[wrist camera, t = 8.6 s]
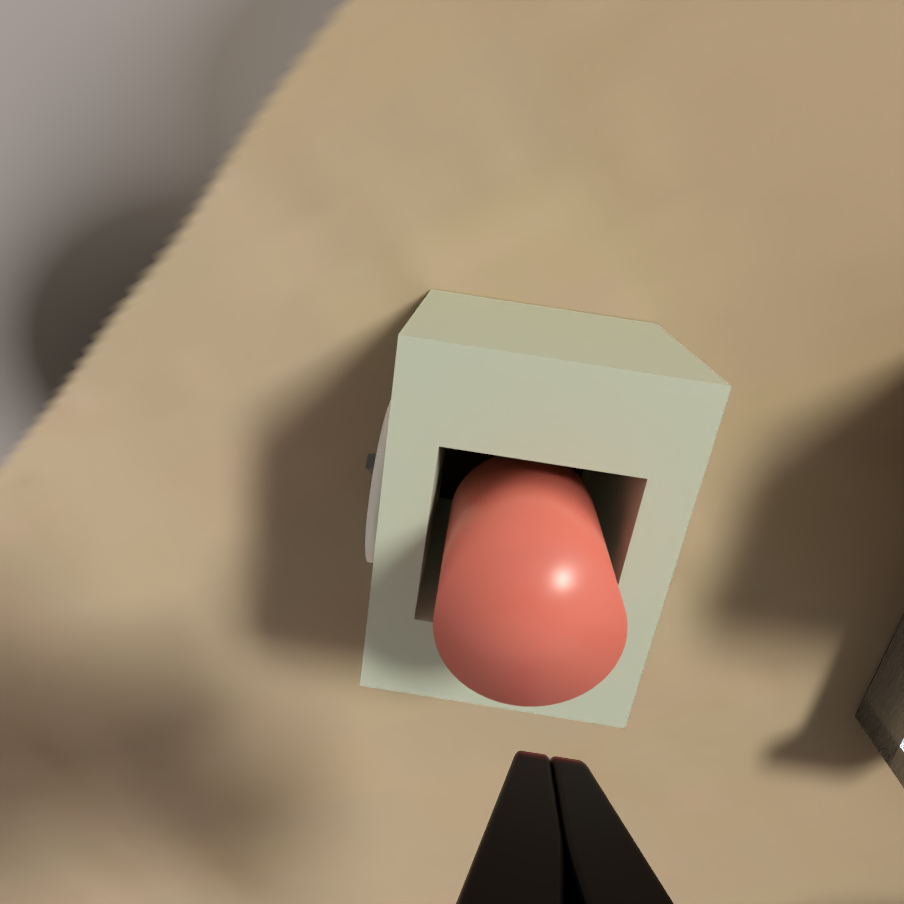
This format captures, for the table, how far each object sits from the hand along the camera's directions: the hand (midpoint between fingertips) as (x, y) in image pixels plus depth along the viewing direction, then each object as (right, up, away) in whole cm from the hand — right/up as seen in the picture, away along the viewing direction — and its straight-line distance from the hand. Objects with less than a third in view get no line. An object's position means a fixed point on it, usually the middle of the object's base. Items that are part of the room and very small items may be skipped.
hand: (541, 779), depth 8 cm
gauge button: (0, +3, +6) cm, 7 cm away
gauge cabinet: (+1, +4, +11) cm, 12 cm away
